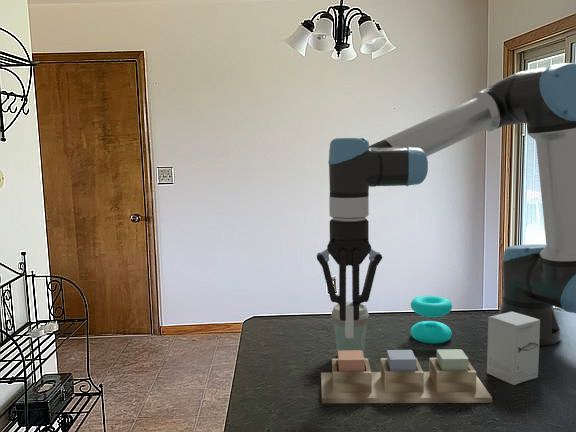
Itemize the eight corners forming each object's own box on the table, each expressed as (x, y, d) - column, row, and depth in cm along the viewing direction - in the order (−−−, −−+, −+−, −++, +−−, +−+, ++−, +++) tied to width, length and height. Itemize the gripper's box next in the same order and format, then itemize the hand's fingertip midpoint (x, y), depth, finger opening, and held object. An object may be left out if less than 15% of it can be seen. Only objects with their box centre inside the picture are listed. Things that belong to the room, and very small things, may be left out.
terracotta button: (362, 369, 112) (362, 350, 112) (364, 379, 107) (364, 359, 107) (338, 369, 113) (337, 350, 112) (339, 379, 108) (338, 360, 107)
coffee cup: (368, 365, 122) (367, 313, 121) (330, 363, 124) (329, 311, 122) (370, 351, 131) (369, 302, 129) (334, 349, 132) (333, 301, 131)
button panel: (473, 375, 115) (473, 353, 114) (492, 402, 103) (492, 377, 103) (321, 377, 117) (320, 354, 116) (322, 403, 105) (321, 378, 104)
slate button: (411, 368, 112) (411, 349, 111) (416, 378, 107) (416, 359, 106) (387, 368, 112) (387, 350, 112) (390, 379, 107) (390, 359, 107)
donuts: (449, 294, 141) (454, 305, 131) (448, 331, 142) (454, 345, 132) (409, 293, 142) (412, 305, 133) (409, 331, 144) (412, 344, 134)
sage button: (461, 368, 111) (461, 349, 111) (468, 378, 106) (468, 358, 106) (436, 368, 112) (436, 349, 111) (442, 378, 107) (442, 359, 106)
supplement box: (514, 386, 110) (516, 325, 108) (485, 373, 116) (486, 315, 115) (539, 378, 113) (541, 319, 112) (510, 366, 120) (511, 310, 118)
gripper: (380, 215, 109) (379, 329, 112) (315, 216, 110) (316, 329, 113) (385, 220, 102) (384, 342, 105) (315, 221, 103) (316, 342, 105)
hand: (349, 335), depth 109 cm, fingers closed
